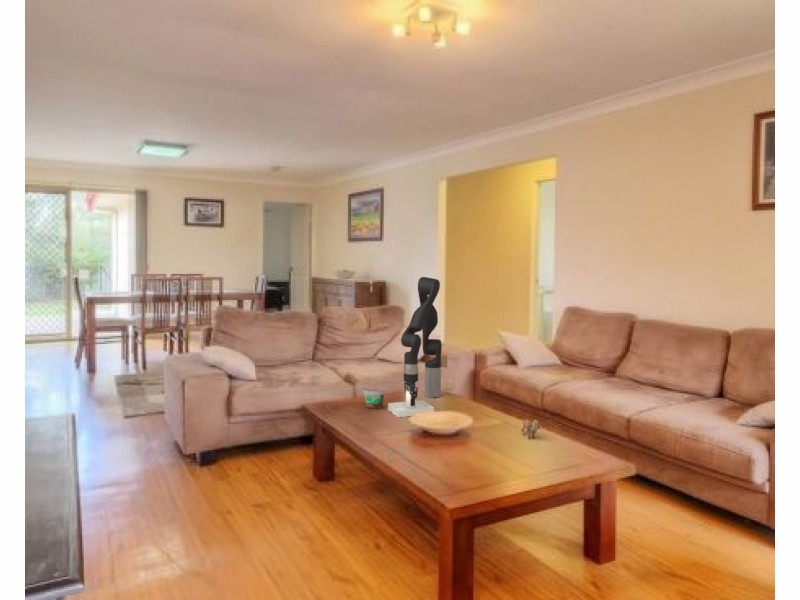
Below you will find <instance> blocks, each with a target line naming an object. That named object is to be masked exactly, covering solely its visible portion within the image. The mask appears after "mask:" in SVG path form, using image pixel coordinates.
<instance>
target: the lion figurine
mask: <svg viewBox="0 0 800 600" xmlns="http://www.w3.org/2000/svg"><path fill="white" fill-rule="evenodd" d="M542 426H543V425H542V424H540V423H539V421H538V420H537V419H534V420H529V419H525V420H524V421H523V423H522V428H521V430H520V431H522V434H521V435H522V436H525V434H526V433H527V440H531V439H532V440H533V439H534V440H535V439H536V436H535V434H536V432H538V431H539V430H541V428H542ZM531 434H532V435H531Z"/></svg>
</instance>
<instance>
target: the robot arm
mask: <svg viewBox="0 0 800 600" xmlns="http://www.w3.org/2000/svg"><path fill="white" fill-rule="evenodd" d="M440 288H441V282H440V279H437V278H432V277H427V276H421V277H420V278H419V279H418V282H417V292H418V298H419V305H420V306H419V307H417V308H416V309H415V311H414V312H413V313H412V316H411V320H410V322H409V324H408V326H407V327H406V329H405V330H404V332H403V333H402V336H401V338H400V343H401V345H402V346H403V347H405V348H410V351H406V352H405V353H404V357H403V359H404V360H403V361H404V362H403V364H404V365H403V382H404V383H403V386H404V394H405V395H406V390H408V391H409V394H410V397H411V406H415V398H416V399H418V387H417V386H416V382H418V381H419V363H418V362H419V359H418V358H419V357H418V356H419V353H420V350H421V349H420V348H421V345H422V352H423V354H424V355H426V356H434V357H433V358H432V359H429V360H426V361H425V362H424V397H426V398H429V397H430V399H431V398H433V399H434V397H437V398H440V397H441V393H442V390H441V389H442V388H441V387H442V386H441V385H442V348H443V347H442V345H443V343H442V340H441V339H437V338H436V339H435V338H429V337H430V335H431V334H432V333H433V331H434V330H435V329H436V327H437V325H438V322H439V321H438V319H439V315H438V311H437V309H436V307H435V306H434V303H435V300H436V298H437V297H438V294H439V291H440ZM421 331H422V332H421ZM419 332H421V333H422V338H421V336H420V335H419V334H416V333H419ZM411 392H412V393H411ZM415 394H416V395H415Z"/></svg>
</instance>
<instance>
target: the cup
mask: <svg viewBox="0 0 800 600" xmlns="http://www.w3.org/2000/svg"><path fill="white" fill-rule="evenodd" d="M411 393H412V392H411ZM415 395H416V394H415ZM416 401H417V398H415V406H411V397H410V394H409V391H408V390H406V394H405V402H406V409H415V408H416Z"/></svg>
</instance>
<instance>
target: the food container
mask: <svg viewBox="0 0 800 600" xmlns="http://www.w3.org/2000/svg"><path fill="white" fill-rule="evenodd" d="M362 394H363V395H364V402H365V403H364V405H365V408H366V410H370V409H377V410H381V408H382V409H383V408H384V407H383V405H384V399H385V398H384V397H385V394H386V391H385V389H382V390H377V389H366V387H364V388H363V390H362Z"/></svg>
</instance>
